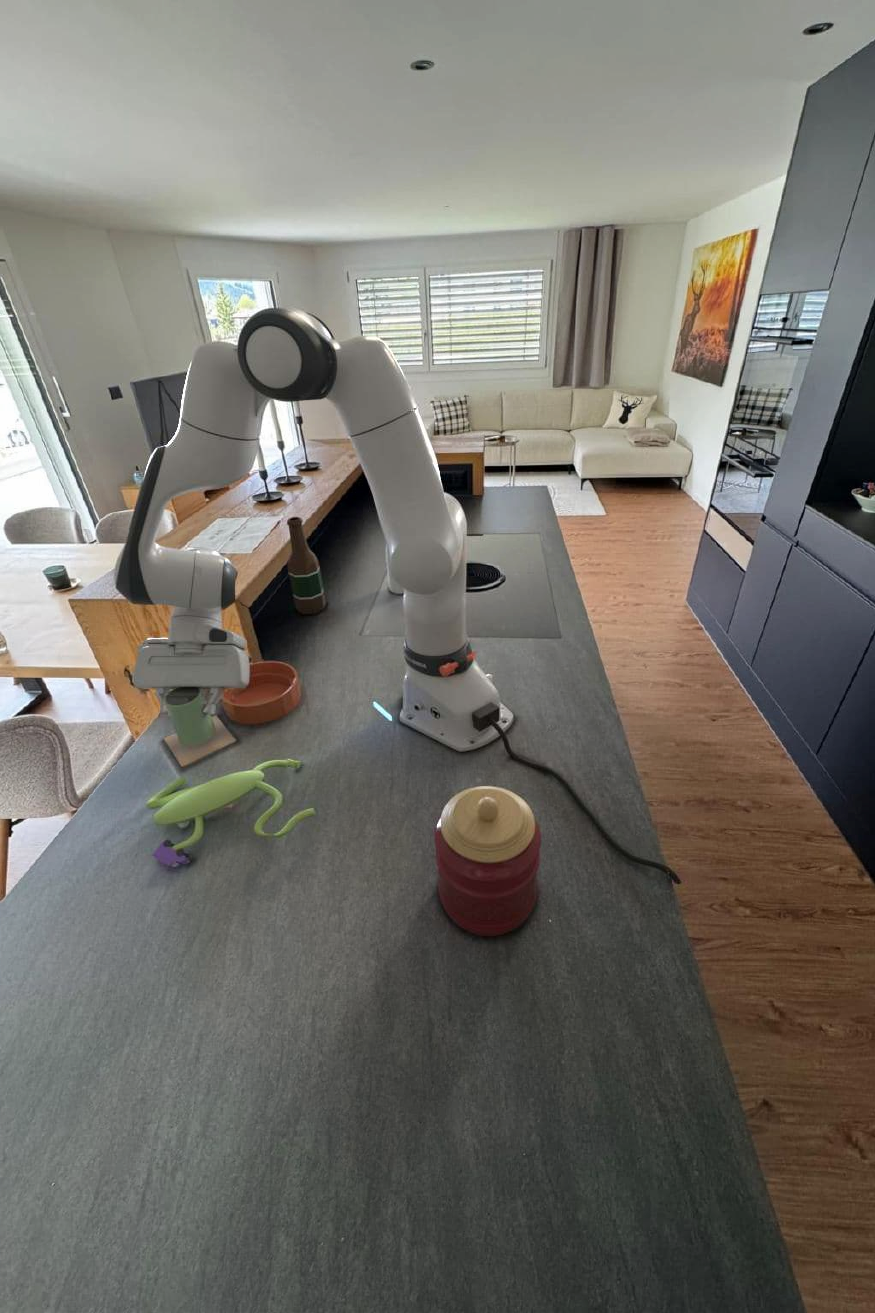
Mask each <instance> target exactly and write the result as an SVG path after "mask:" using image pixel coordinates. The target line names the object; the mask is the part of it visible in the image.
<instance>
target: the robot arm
mask: <svg viewBox="0 0 875 1313" xmlns="http://www.w3.org/2000/svg"><path fill="white" fill-rule="evenodd" d="M186 374H187V375H186V379H185V384H184V387H183V394H182V399H181V407H180V417H179V422H178V427H177V430H176V432H175V434H174V436H173V437H172V439H171V440H170V441H169V442H168V443H167V444H166V445H161V446H158V447H156V448H155V449H154V450H153V452H152V454H151V455H150V457H149V460H148V462H147V465H146V469H145V472H144V475H143V476H144V477H143V478H142V480H141V484H140V487H139V488H140V489H139V490H138V495H137V498H136V503H135V506H134V509H133V513H132V517H131V520H130V525H129V528H128V534H127V538H126V541H125V543H124V545H123V547H122V548H121V550H120V552H119V554H118V556H117V559H116V562H115V565H114V570H113V581H114V586H115V589H116V590H117V591H118V593H119V594H120V595H122V596H123V598H125V599H126V600H127V601H128V602H129V603H131V604H132V605H143V606H144V605H146V606H156V605H159V606H166V607H173V608H172V612H171V614H170V617H169V623H168V633H167V637H161V638H154V637H150V638H147V639H146V640H144V641H142V642H141V643H140V644H139V645H138V647H137V657H136V659H135V662H134V663H135V664H134V668H133V672H132V677H131V681H132V682H131V683H132V684H133V685H134V687H135V688H138V689H142V690H155V693H154V694H155V696H156V699H157V700H158V703H159V704H160V707H159V714H160V715H168V712H167V710H166V707H165V705H164V702H163V699H164V697H165V695H166V694H167V693H168V692H169V691H171V690H173V689H174V688H177V687H200V688H201V689H202V690H210V691H209V694H212V695H211V697H210V699H209V701H208V702H206V703H205V704H203V708H204V709H203V714H211V715H216V708H217V705H218V703H219V702H220V701H221V700H220V699H221V697H222V696H223V689H244V688H245V687H246V686H247V685H248V684H249V677H250V665H249V664H250V658H249V655H248V653H247V652H246V651H245V650H247V647H248V641H247V639H246V638H244V637H243V636H241V635H239V634H238V633H235V632H233V631H230V630H227V629H225V628H223V619H222V612H223V611H224V610H226V609H228V608H230V607H231V606H232V605H234V604H235V603H236V581H237V579H238V574H239V571H238V570H237V568H236V567H235V565H234V564H233V563H232V562H231V561H230V560H229V559H228V558H227V557H225V556H222V555H221V554H220V553H219V552H217V551H215V550H214V549H211V548H207V547H201V546H200V547H199V546H196V547H195V546H194V547H189V548H186V549H181V548H176V547H175V548H173V547H169V546H163V545H160V544H159V543H157V542H156V541H157V540H156V539H157V536H158V532H159V529H160V526H161V523H162V521H163V520H162V519H163V516H164V514H165V509H166V507H167V506H168V504H169V503H170V502H171V501H172V500H173V499H175V498H177V497H179V496H182V495H186V494H190V493H191V494H192V493H195V492H204V491H211V490H219V489H223V488H226V487H229V486H231V485H234V484H236V483H238V482H240V481H242V480H243V479H245V477H247V476H248V475H249V474H250V472H251V471H252V470H253V467H254V464H255V461H256V457H257V454H258V450H259V446H260V445H259V444H260V439H261V433H262V432H261V431H262V425H263V419H264V413H265V412H266V408H267V406H268V403H269V402H270V401H271V400H274V401H279V402H285V403H295V402H301V401H302V402H303V401H317V400H318V401H319V400H323V399H326V400H328V401H329V402H330V403H331V404H332V406H333V407H334V409H335V410H336V412H337V414H338V416H339V418H340V420H341V422H342V425H343V427H344V429H345V431H346V434H347V436H348V438H349V441H350V443H351V446H352V448H353V450H354V452H355V454H356V457H357V459H358V461H359V464H360V466H361V469H362V470H363V473H364V476H365V478H366V480H367V483H368V486H369V488H370V491H371V495H372V497H373V501H374V504H375V509H376V512H377V516H378V521H379V523H380V528H381V532H382V535H383V537H384V538H383V539H384V542H385V544H386V545H387V549H388V553H389V559H390V568H391V572H392V575H393V577H394V579H395V580H396V581H397V583H398V584H399V585H400V586H401V587H403V588H404V593H403V594H402V595H403V596H402V611H403V612H402V614H403V621H404V622H403V624H404V634H405V638H404V640H403V655H404V661H405V662H406V668H405V672H404V677H403V681H402V682H403V685H402V686H403V688H402V708H401V710H400V713H399V721H400V722H401V723H403V724H404V725H406V726H408V727H410V728H412V729H414V730H416V731H418V732H420V733H422V734H423V735H426V736H427V737H429V738H431V739H433V740H435V741H438V742H439V743H441V744H443V745H444V746H447V747H449V748H451V749H453V750H455V751H457V752H467V751H468V752H469V751H473V750H476V749H479V748H482V747H484V746H486V745H488V744H490V743H491V742H494V741H495V740H496V739H498V738H501V739H502V742H503V745H504V749H505V751H506V753H507V754H508V755H509V756H510V757H511V758H512V759H513V760H515V761H517V762H519V763H521V764H524V765H526V766H528V767H531V768H534V769H537V770H540V771H543V772H545V773H547V774H549V775H551V776H552V777H554V778H555V779H556V780H557V781H558V782H560V784H561V785H563V786H564V787H565V789H566V790H567V791H568V792H569V794H570V795H571V797H572V798H573V800H574V801H575V802H576V803H577V805H578V807H580V809H581V810H582V811H583V813H584V814H586V815H587V817H588V818H589V819H590V820H591V823H593V825H594V826H595V827H596V828H597V830H598V831H599V832H600V834H601V835H602V837H603V838H604V839H605V840H606V841H607V842H608V843H609V845H611V846H612V847H613V848H614V849H615V850H616V851H617V852H618V853H619V854H621V855H622V856H624V857H625V858H626V859H629V860H630V861H632V862H634V863H637V864H640V865H644V866H648V867H650V868H653V869H657V870H659V871H662V872H663V873H665V874H666V875H667V876H668V877H670V879H671V880H672V881H673V882H674V883H675V884H677V885H681V884H682V880H681V878H680V877H679V876H678V874H677V873H676V872H675V871H674V869H672V868H671V867H670V866H668V865H666V864H664V863H663V862H660V861H657V860H654V859H650V858H645V857H643V856H639V855H636V854H634V853H632V852H631V851H629V850H627V849H626V848H625V847H624V846H623V845H621V844H620V843H619V842H618V841H617V840H615V838H614V837H613V836H612V834H610V833H609V832H608V830H607V829H606V828H605V827H604V825H603V824H602V822H600V820H599V819H598V817H597V816H596V815H595V814H594V813H593V811H592V810H591V809H590V808H589V807H588V806H587V804H586V803H585V802H584V800H582V798H581V797H580V795H579V794H578V793H577V791H576V790H575V789H574V787H573V786H572V785H571V784H570V783H569V781H568V780H567V779H566V778H565V777H563V775H561V774H560V773H559V772H557V771H556V770H555V769H553V768H551V767H549V766H546V765H544V764H541V763H537V762H535V761H531V760H528V759H525V758H523V757H521V756H520V755H518V754H517V753H515V751H514V750H513V749H512V748H511V746H510V742H509V739H508V737H507V734H506V731H507V730H508V729H509V728H510V727H511V725H512V724H513V722H514V714H513V713H512V711H511V710H510V709H509V708H508V707H507V706H505V704H503V703H502V702H501V699H500V698H501V697H500V694H499V691H498V689H497V688H496V687H495V685H494V684H495V679H494V677H493V675H492V674H490V673H488V674H486V673H485V672H484V671H483V670H482V668H481V667H480V666H479V664H478V661H476V660H475V658H477V657H478V655H477V653H478V651H477V650H475V651H473V650H472V646H471V642H470V640H469V637H468V635H467V619H466V618H467V612H466V611H467V609H466V607H467V605H466V601H467V600H466V595H467V594H466V593H467V558H468V557H467V556H468V554H467V553H468V552H467V549H468V548H467V547H468V546H467V544H468V543H467V542H468V537H467V536H468V525H467V524H468V523H467V519H466V518H467V517H466V515H465V511H464V509H463V507H462V505H461V504H460V502H459V501H458V500H457V499H456V498H455V496H453V495H451V494H450V493H447V492H445V491H444V486H443V483H442V480H441V479H442V478H441V474H440V470H439V465H438V464H439V463H438V458H437V455H436V453H435V451H434V448H433V445H432V442H431V439H430V437H429V434H428V431H427V429H426V426H425V423H424V420H423V418H422V414H421V412H420V410H419V407H418V404H417V401H416V399H415V397H414V394H413V392H412V390H411V387H410V385H409V383H408V380H407V378H406V377H405V374H404V372H403V370H402V369H401V366H400V364H399V363H398V362H397V359H396V358H395V355H394V354H393V352H392V350H391V349H390V347H389V346H388V345H387V343H386V342H384V341H383V340H382V339H380V338H378V337H376V336H370V335H361V336H355V337H351V338H350V339H347V340H343V341H337V340H336V339H335V337H334V335H333V333H332V331H331V329H330V328H329V327H328V326H327V324H326V323H325V322H324V321H323V320H321V319H320V318H319V317H318V316H315V314H312V313H309V312H306V311H305V310H302V309H298V308H296V307H290V306H281V307H268V308H264V309H261V310H259V311H257V312H255V313H254V314H252V316H250V317H249V318H248V320H246V322H245V323H244V324H243V326H242V328H241V330H240V333H239V335H238V339H237V344H234V343H232V342H229V341H228V342H227V341H217V340H215V341H208V342H204V343H202V344H200V345H199V346H198V347H197V348H196V350H194V353H193V355H192V358H191V360H190V364H189V366H188V371H187V373H186ZM386 545H385V546H386ZM373 707H374V708H375V709H376V710H377V711H378V712H380V713H381V714H382V715H383V716H384V717H385V718H386V719H387V720H388V721H391V722H392V721H393V718H392V715H391V714H390V713H388V712H387V711H386V710H385V709H384V708H383V707H382V706H381V705H380V704H378V703H377V702H376V701H373ZM667 870H668V871H667ZM668 872H669V874H668Z"/></svg>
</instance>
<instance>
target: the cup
mask: <svg viewBox="0 0 875 1313" xmlns="http://www.w3.org/2000/svg"><path fill="white" fill-rule="evenodd" d="M163 702H164V705H165V707H166V710H167V712H168V714H167V715H168V717H169V720H170V722H171V725H172V727H173V729H174V732H175V733H176V735H177V737H178V740H179V742H180V743H181V744H182V745H185V746H196V745H200V744H203V743H205V742H207V741H208V740H209V739H211V738H212V737H213V735H214V734H215V730H216V729H215V726H214V723H213V720H212V717H213V716H212V714H203V709H204V708H203V704H205V703H207V700H206V698H205V694H204V692H203V689H201V688H200V687H177V688H174V689H170V691H169V692H168V693H167V694H166V695H165V697H164V699H163Z"/></svg>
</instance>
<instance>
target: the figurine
mask: <svg viewBox="0 0 875 1313" xmlns="http://www.w3.org/2000/svg"><path fill="white" fill-rule="evenodd" d="M300 766H301V760H293V759H290V758H287V759H286V760H284V759H273V760H268V761H265V762H262V763H260V764H258V765H257V766H255V767H254V768H252V770H245V771H238V772H234V773H233V772H232V773H230V774H227V775H224V776H220V777H217V778H214V779H212V780H210V781H207V782H205V783H201V784H199V785H197V786H193V787H190V788H186V789H182V790H179V791H176V790H177V789H178V788H180V787H181V786H182V785H184V784H185V783H186V782H187V779H186V776H184V775H183V774H182V775H181V776H180V777H179V778H178V779H177V780H175V781H173V782H172V783H171V784H169V785H167V786H166V787H165V788H163V789H162V790H160V791H158V792H157V793H156V794H154V795H153V796H152V797H151V798H150V799H149V800H147V802H146V808H147V809H148V810H152V809H156V808H160V807H161V808H160V809H158V811H156V812H155V813H154V815H153V817H152V822H153V823H154V824H155V825H158V826H159V825H161V826H169V825H176V824H177V826H178V828H181V829H182V830H183V829H184V830H185V828H187V827H188V825H189V823H190V821H192V820H194V826H195V827H194V832H193V834H192V835H191V836H190V837H189V838H188V839H186V840H184V841H181V842H179V843H177V844H174V843H172V840H171V839H165V840H164V841H162V842H161V843H160V844H159V846H158V847H157V848H156V849H155V851H154V852H153V853H152V854H151V856H152V857H153V858H154V859H157V860H158V861H159V862H161V863H162V864H164V865H166V866H168V867H170V868H173V869H175V868H176V867H178V866H180V865H182V864H183V865H188V864H189V863H190V861H191V859H190V857H191V856H190V853H187V852H186V851H185V849H187V848H189V847H191V846H193V845H194V844H196V843H197V842H198V841H199V840H200V839H201V837H202V835H203V833H204V816H206V815H209V814H211V813H214V812H216V811H218V810H221V809H224V808H232V807H233V806H234V805H233V803H235V802H236V801H239V800H241V799H242V798H244V797H245V796H246V795H248V794H250V793H251V792H252V791H254V790H255V789H257V790H260V791H262V792H264V793H266V794H268V795H269V796H271V797H272V798H273V799H274V802H273V804H272V806H271V807H270V808H269V809H267V810H266V811H265V812H264V813H262V814H261V816H260V817H259V818H257V821H255V823H254V826H253V831H254V833H255V835H256V836H259V837H262V838H276V839H277V838H278V839H280V838H283V837H284V836H286V835H288V834H289V833H290V832H292V831H293V829H294V828H295V826H297V825H298V824H299V823H300V822H302V821H303V820H304V819H308V818H311V817H315V816H316V812H315V808H314V807H311V808H307V809H304V810H301V811H299V812H298V813H296V814H295V815H293V817H291V818H290V819H289V820H288V821H287V823H286V824H285V825H284V827H282V829H281V830H280V831H278V832H277V833H274V834H269V833H266V832H265V831H264V830H263V828H264V825H266V822H267V821H269V820H270V818H271V817H272V816H273V815H275V814H276V813H277V812H278V811H279V810H280V808H282V805H283V794H282V793H281V792H280V791H279V790H278V789H277V788H275V787H273V786H272V785H270V784H268V783H266V782H264V777H265V774H264V773H263V771H265V770H268V769H271V768H291V769H294V768H295V769H297V770H299V769H300ZM174 791H176V792H174Z"/></svg>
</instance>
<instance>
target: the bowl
mask: <svg viewBox="0 0 875 1313" xmlns="http://www.w3.org/2000/svg"><path fill="white" fill-rule="evenodd" d="M249 665H250V677H249V684H248V685H247V686H246V687H245V688H244V689H223V696H222V697H221V699H220V700H219V701H220V703H221V706H222V708H223V711H224V714H225V715H226V716H227V718H228V719H229V720H231V721H233V722H235V723H238V724H242V725H248V726H250V725H251V726H252V725H262V724H266V723H269V722H273V721H274V722H275V721H276V720H278V719H280V718H283V717H285V716H286V715H288V714H289V713H291V711H293V710H294V709H296V707H297V705H299V703H300V701H301V698H302V688H301V684H300V680H299V676H298V672H297V669H296V668H294V667H293V666H292V665H291V664H289V663H286V662H283V661H278V660H277V661H276V660H266V661H265V660H264V661H257V662H253V663H249Z"/></svg>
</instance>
